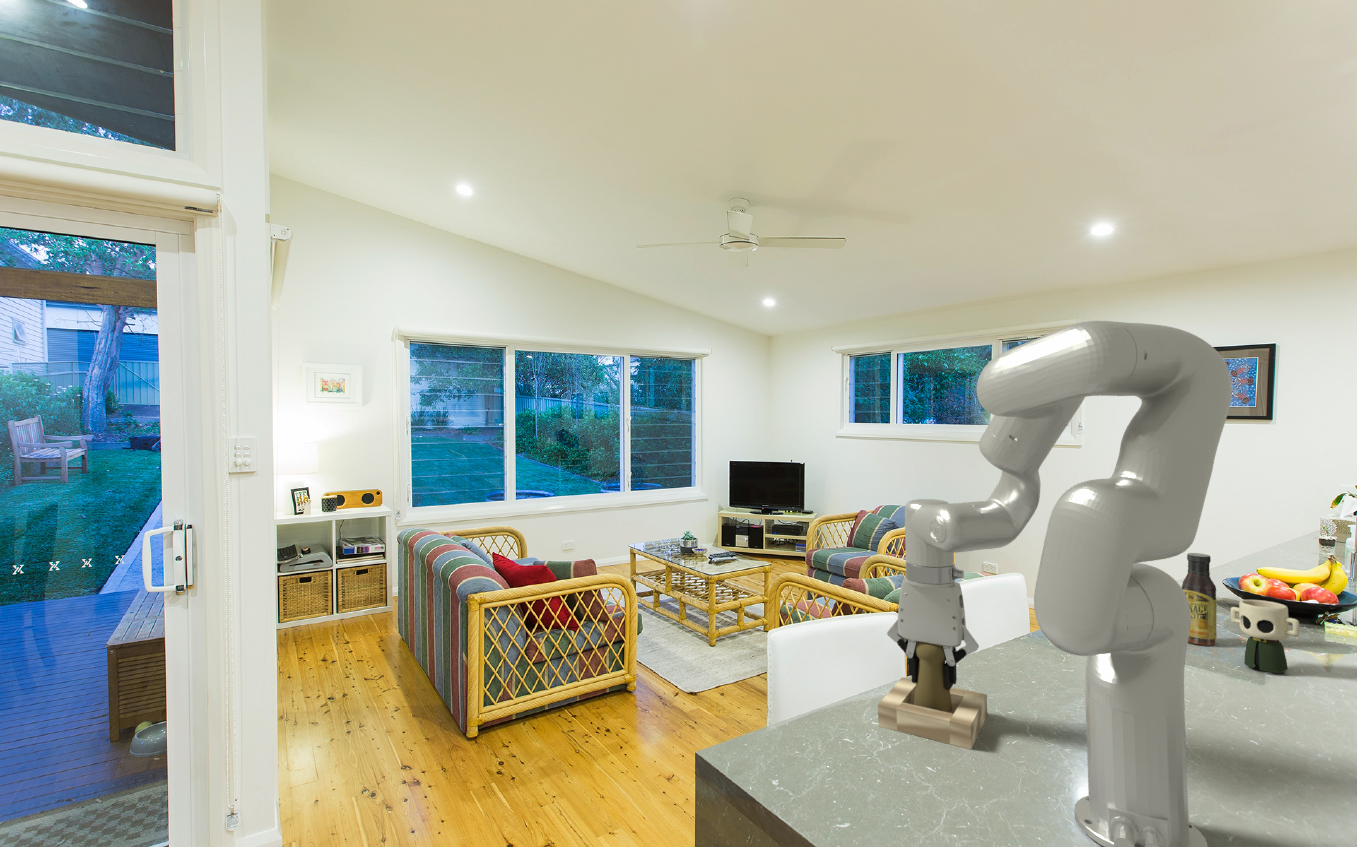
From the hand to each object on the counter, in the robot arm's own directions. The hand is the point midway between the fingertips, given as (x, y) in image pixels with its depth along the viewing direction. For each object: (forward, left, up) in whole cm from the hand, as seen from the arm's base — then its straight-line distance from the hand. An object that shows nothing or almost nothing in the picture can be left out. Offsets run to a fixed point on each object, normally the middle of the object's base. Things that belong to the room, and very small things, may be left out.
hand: (932, 682), depth 104 cm
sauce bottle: (+73, -40, -6) cm, 83 cm away
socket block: (0, 0, -6) cm, 6 cm away
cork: (0, 0, -4) cm, 4 cm away
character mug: (+59, -49, -6) cm, 77 cm away
